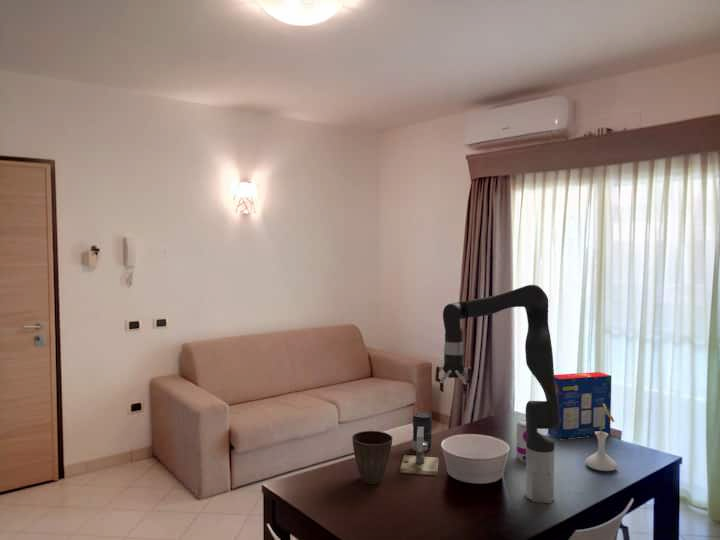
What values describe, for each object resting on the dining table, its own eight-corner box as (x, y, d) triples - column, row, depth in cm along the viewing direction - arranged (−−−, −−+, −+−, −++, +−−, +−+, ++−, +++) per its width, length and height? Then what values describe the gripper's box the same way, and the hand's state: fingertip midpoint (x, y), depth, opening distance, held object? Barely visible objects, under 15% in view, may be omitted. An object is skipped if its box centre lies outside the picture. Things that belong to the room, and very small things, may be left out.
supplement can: (540, 463, 212) (540, 426, 211) (519, 462, 212) (520, 425, 212) (533, 455, 220) (534, 419, 220) (514, 455, 220) (514, 419, 220)
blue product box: (598, 429, 254) (599, 372, 253) (610, 435, 246) (611, 375, 245) (548, 434, 246) (548, 375, 246) (558, 440, 239) (559, 379, 238)
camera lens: (431, 446, 230) (431, 412, 229) (431, 453, 222) (432, 418, 221) (412, 445, 230) (412, 411, 230) (412, 452, 222) (413, 417, 222)
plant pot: (364, 468, 205) (365, 428, 204) (399, 477, 197) (399, 435, 197) (344, 482, 192) (344, 439, 192) (379, 492, 184) (380, 447, 184)
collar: (413, 443, 213) (413, 426, 213) (428, 444, 213) (428, 427, 212) (411, 454, 202) (411, 436, 201) (427, 455, 201) (427, 437, 201)
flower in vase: (613, 476, 199) (614, 411, 199) (581, 469, 206) (583, 405, 205) (620, 465, 210) (621, 403, 209) (590, 459, 216) (591, 398, 216)
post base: (438, 461, 213) (438, 444, 213) (437, 475, 199) (437, 457, 199) (404, 458, 215) (404, 442, 215) (400, 472, 202) (400, 454, 201)
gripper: (471, 351, 214) (471, 391, 214) (436, 350, 217) (435, 389, 217) (471, 355, 207) (471, 396, 207) (435, 353, 209) (434, 394, 210)
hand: (453, 392), depth 212 cm, fingers open, 8 cm apart
